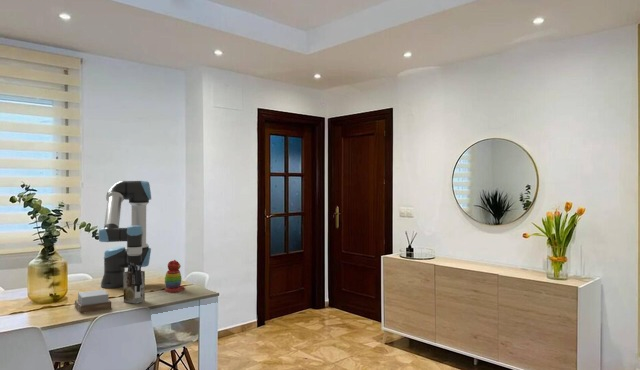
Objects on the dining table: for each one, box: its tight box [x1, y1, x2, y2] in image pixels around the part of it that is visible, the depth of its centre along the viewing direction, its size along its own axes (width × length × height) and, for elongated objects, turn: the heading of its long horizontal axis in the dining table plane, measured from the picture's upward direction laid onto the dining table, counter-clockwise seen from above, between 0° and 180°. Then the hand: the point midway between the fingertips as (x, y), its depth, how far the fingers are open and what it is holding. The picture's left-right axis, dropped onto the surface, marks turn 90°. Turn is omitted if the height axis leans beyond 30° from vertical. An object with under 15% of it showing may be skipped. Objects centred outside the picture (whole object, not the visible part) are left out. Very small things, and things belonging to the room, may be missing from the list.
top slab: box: [77, 288, 109, 306], centre depth 227 cm, size 12×12×4 cm
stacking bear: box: [164, 259, 186, 294], centre depth 264 cm, size 11×10×18 cm
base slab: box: [74, 298, 112, 314], centre depth 227 cm, size 14×14×4 cm
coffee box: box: [123, 270, 146, 304], centre depth 239 cm, size 9×6×16 cm
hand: (134, 295), depth 239 cm, fingers closed on coffee box, 11 cm apart
